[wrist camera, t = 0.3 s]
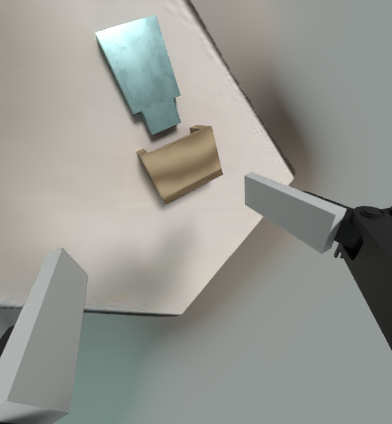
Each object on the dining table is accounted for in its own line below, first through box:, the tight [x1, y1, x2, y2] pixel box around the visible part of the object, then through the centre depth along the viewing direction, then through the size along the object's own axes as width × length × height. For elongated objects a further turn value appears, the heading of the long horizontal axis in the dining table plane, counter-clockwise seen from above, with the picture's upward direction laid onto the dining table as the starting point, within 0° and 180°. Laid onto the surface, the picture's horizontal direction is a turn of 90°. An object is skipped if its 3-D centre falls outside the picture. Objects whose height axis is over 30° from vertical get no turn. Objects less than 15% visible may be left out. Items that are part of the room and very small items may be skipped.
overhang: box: [137, 125, 223, 204], centre depth 35 cm, size 10×14×7 cm
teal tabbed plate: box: [96, 15, 181, 135], centre depth 28 cm, size 14×9×3 cm, turn 19°
